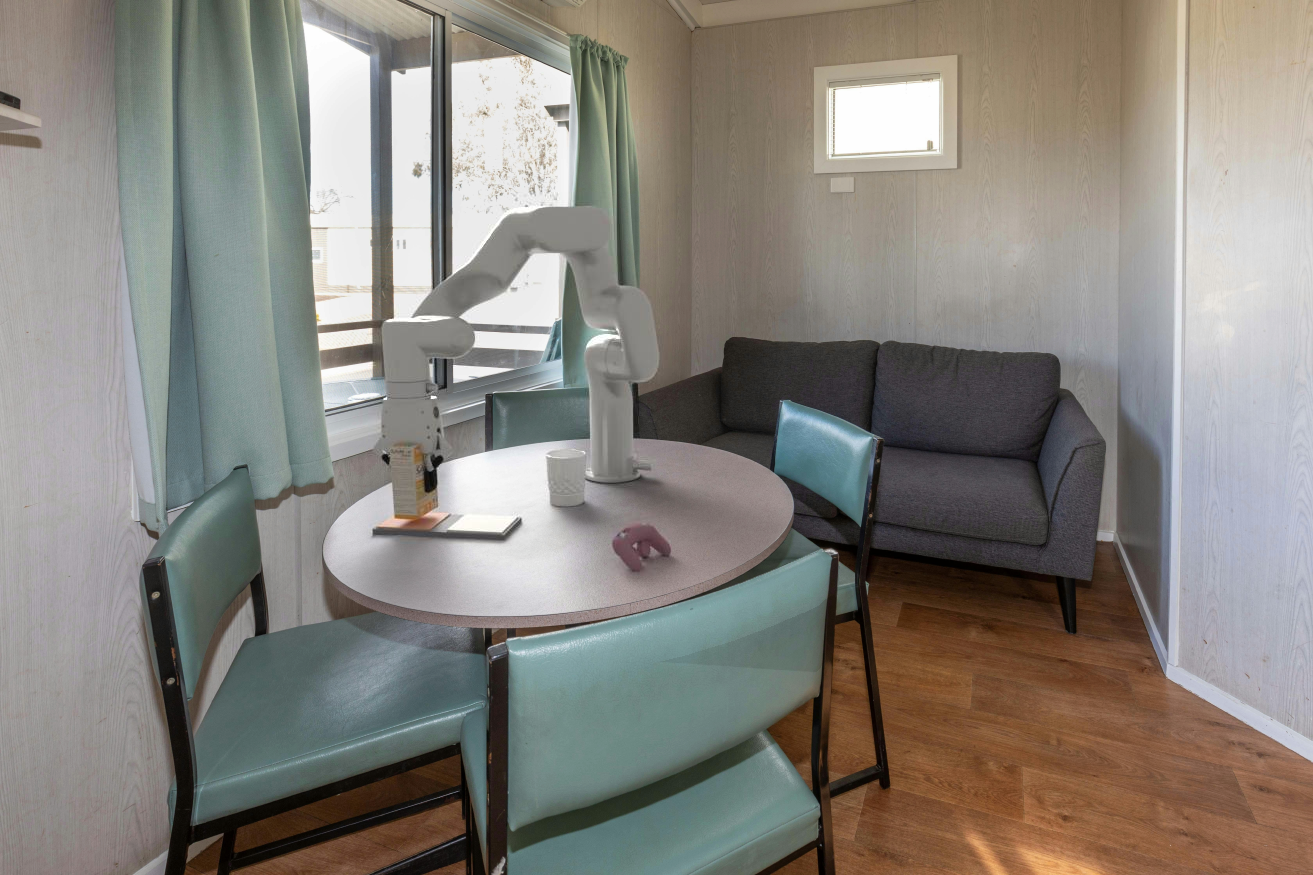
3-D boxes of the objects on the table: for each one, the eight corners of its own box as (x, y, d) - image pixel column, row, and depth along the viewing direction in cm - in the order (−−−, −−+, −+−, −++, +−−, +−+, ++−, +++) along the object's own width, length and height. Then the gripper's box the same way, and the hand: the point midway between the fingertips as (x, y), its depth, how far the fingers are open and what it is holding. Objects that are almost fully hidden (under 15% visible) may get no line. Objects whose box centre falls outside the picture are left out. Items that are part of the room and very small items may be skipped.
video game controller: (654, 559, 133) (638, 520, 133) (675, 552, 130) (659, 512, 131) (619, 578, 125) (602, 536, 125) (640, 571, 122) (623, 528, 123)
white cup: (593, 498, 162) (592, 450, 160) (576, 509, 155) (575, 459, 153) (558, 495, 165) (556, 447, 163) (540, 505, 158) (538, 456, 156)
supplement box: (418, 520, 140) (413, 447, 137) (393, 519, 141) (387, 446, 138) (440, 507, 148) (435, 437, 145) (416, 505, 149) (411, 436, 146)
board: (521, 522, 147) (521, 515, 147) (504, 540, 137) (503, 533, 137) (398, 516, 150) (398, 510, 150) (372, 534, 141) (372, 527, 140)
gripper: (463, 387, 142) (469, 486, 146) (373, 386, 144) (381, 483, 148) (446, 394, 135) (453, 498, 139) (352, 392, 137) (360, 494, 141)
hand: (415, 489), depth 143 cm, fingers closed on supplement box, 5 cm apart
